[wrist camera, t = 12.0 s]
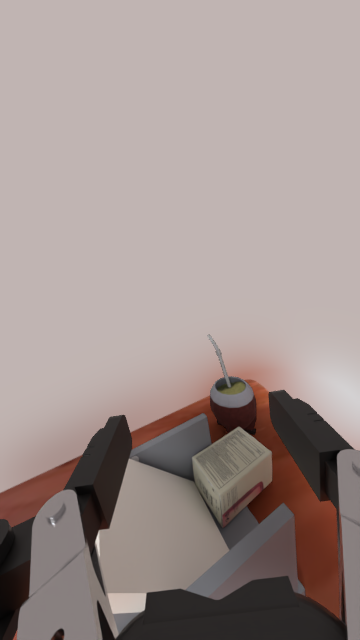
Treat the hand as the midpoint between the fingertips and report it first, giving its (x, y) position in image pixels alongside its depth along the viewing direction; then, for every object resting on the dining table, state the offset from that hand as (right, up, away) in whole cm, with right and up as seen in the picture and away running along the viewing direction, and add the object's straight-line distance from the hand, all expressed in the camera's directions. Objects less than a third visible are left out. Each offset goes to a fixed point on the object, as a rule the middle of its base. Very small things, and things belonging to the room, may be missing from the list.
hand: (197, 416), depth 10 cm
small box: (+2, -13, +9) cm, 16 cm away
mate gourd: (+8, -13, +21) cm, 26 cm away
